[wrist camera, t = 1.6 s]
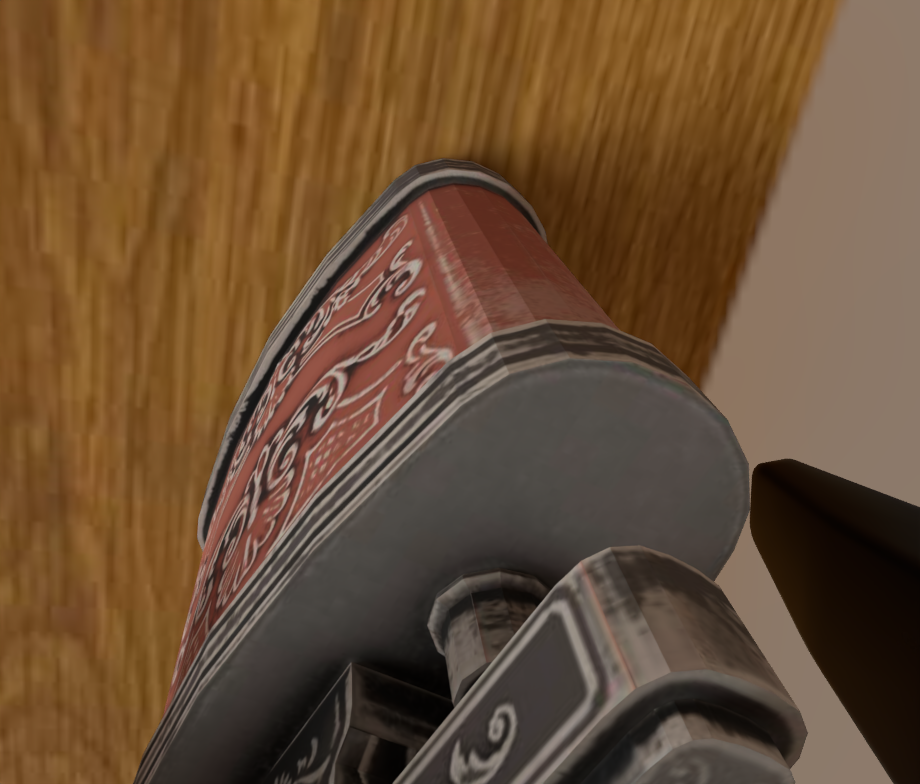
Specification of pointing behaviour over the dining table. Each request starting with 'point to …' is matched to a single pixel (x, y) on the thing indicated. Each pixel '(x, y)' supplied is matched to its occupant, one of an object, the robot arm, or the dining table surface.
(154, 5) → the dining table surface
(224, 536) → the lighter
